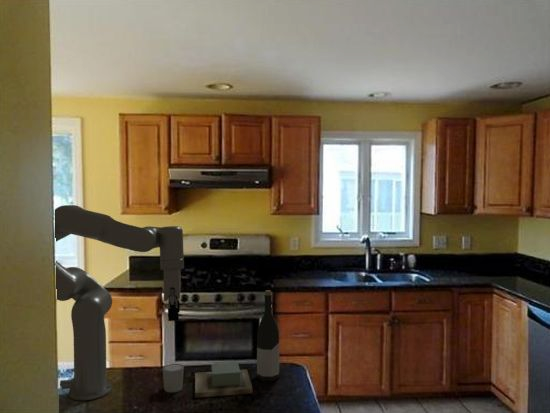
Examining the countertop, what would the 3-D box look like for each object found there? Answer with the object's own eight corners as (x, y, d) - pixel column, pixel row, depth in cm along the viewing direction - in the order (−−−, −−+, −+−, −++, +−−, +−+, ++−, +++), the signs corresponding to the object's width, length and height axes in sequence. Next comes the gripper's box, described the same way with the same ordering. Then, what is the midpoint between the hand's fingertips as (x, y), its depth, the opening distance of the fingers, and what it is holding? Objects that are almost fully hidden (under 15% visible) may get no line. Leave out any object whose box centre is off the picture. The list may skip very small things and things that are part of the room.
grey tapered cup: (185, 384, 146) (185, 363, 146) (182, 393, 139) (182, 371, 139) (165, 384, 146) (164, 363, 145) (160, 393, 139) (160, 371, 139)
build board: (195, 397, 136) (195, 392, 136) (195, 377, 151) (195, 372, 151) (252, 393, 139) (252, 388, 139) (246, 373, 155) (246, 368, 155)
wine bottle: (263, 370, 157) (263, 287, 157) (283, 374, 154) (283, 289, 153) (252, 378, 150) (252, 291, 150) (273, 383, 146) (273, 294, 146)
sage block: (212, 386, 140) (212, 374, 140) (211, 375, 149) (211, 363, 149) (240, 384, 142) (240, 372, 142) (237, 373, 150) (237, 362, 150)
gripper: (162, 261, 150) (164, 310, 150) (158, 269, 133) (160, 324, 133) (184, 260, 151) (186, 309, 152) (183, 267, 134) (185, 322, 135)
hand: (174, 316), depth 142 cm, fingers open, 9 cm apart
